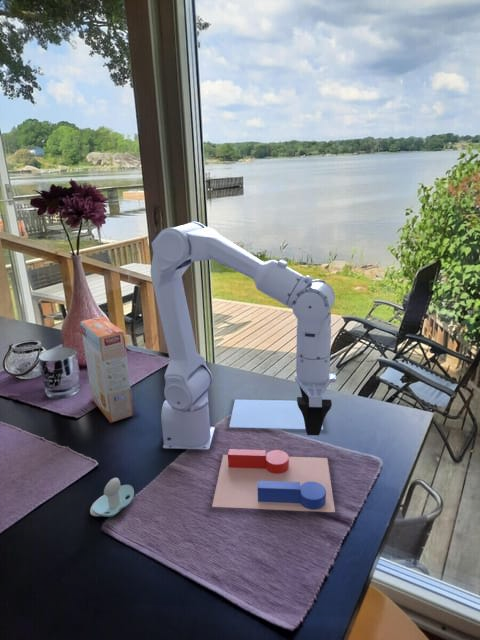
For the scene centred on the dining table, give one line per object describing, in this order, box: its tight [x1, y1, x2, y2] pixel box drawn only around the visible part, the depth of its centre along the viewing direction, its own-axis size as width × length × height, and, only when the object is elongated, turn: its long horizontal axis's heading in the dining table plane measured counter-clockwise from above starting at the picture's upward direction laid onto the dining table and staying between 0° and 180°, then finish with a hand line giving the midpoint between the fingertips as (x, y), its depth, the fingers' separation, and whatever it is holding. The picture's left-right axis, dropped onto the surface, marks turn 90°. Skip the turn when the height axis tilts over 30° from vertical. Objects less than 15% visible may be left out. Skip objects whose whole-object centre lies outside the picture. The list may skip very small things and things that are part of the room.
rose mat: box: [211, 454, 336, 513], centre depth 78 cm, size 20×14×1 cm
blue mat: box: [228, 399, 324, 431], centre depth 99 cm, size 20×12×1 cm, turn 85°
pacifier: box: [89, 477, 135, 518], centre depth 73 cm, size 7×6×6 cm
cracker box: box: [80, 316, 134, 424], centre depth 102 cm, size 14×6×21 cm, turn 34°
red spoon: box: [227, 448, 290, 474], centre depth 82 cm, size 11×4×3 cm, turn 85°
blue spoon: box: [258, 481, 326, 510], centre depth 73 cm, size 11×4×3 cm, turn 85°
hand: (311, 422), depth 80 cm, fingers open, 7 cm apart
